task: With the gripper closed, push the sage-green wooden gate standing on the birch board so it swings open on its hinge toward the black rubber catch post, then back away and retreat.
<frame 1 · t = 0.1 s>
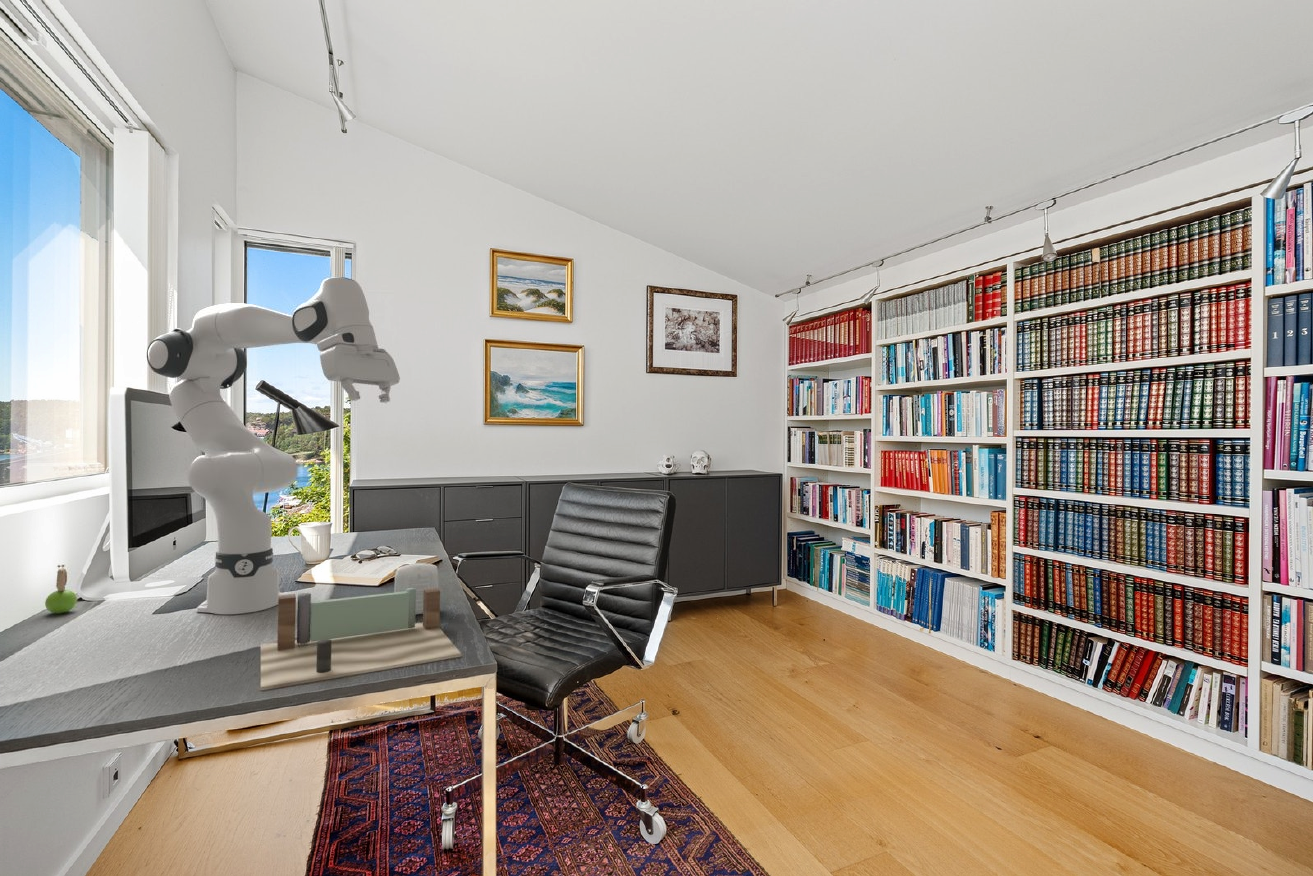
hand: (370, 401, 143), 52 cm above the table, tool tilted 20°, fingers open, 8 cm apart
gate: (359, 611, 135), point 6 cm above the table, hinge at 0.0°
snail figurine: (61, 614, 146), on the table
photo printer: (415, 614, 155), on the table
gate frame: (303, 647, 129), on the table
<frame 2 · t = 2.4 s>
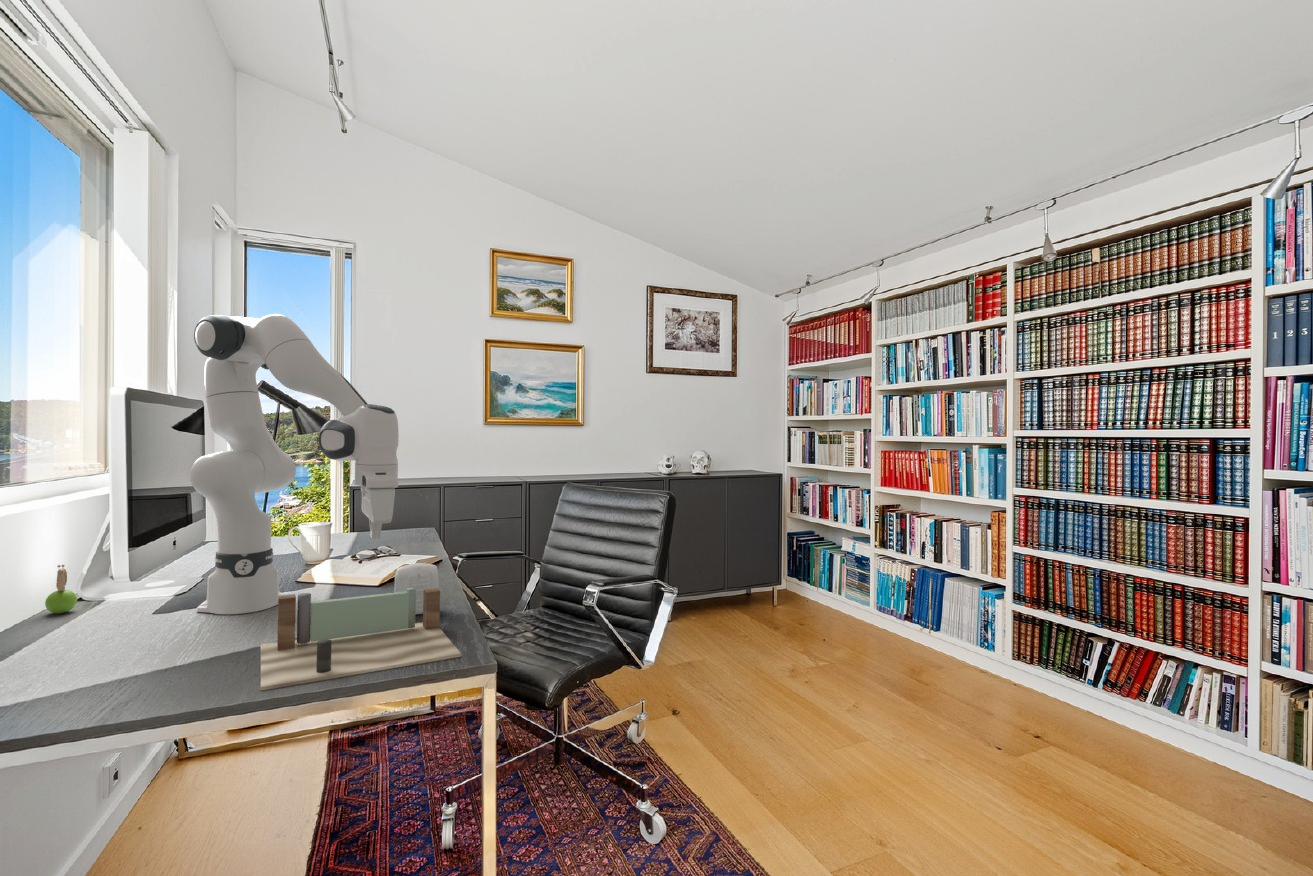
hand: (375, 538, 141), 21 cm above the table, tool pointing down, fingers closed
nothing on the table moved.
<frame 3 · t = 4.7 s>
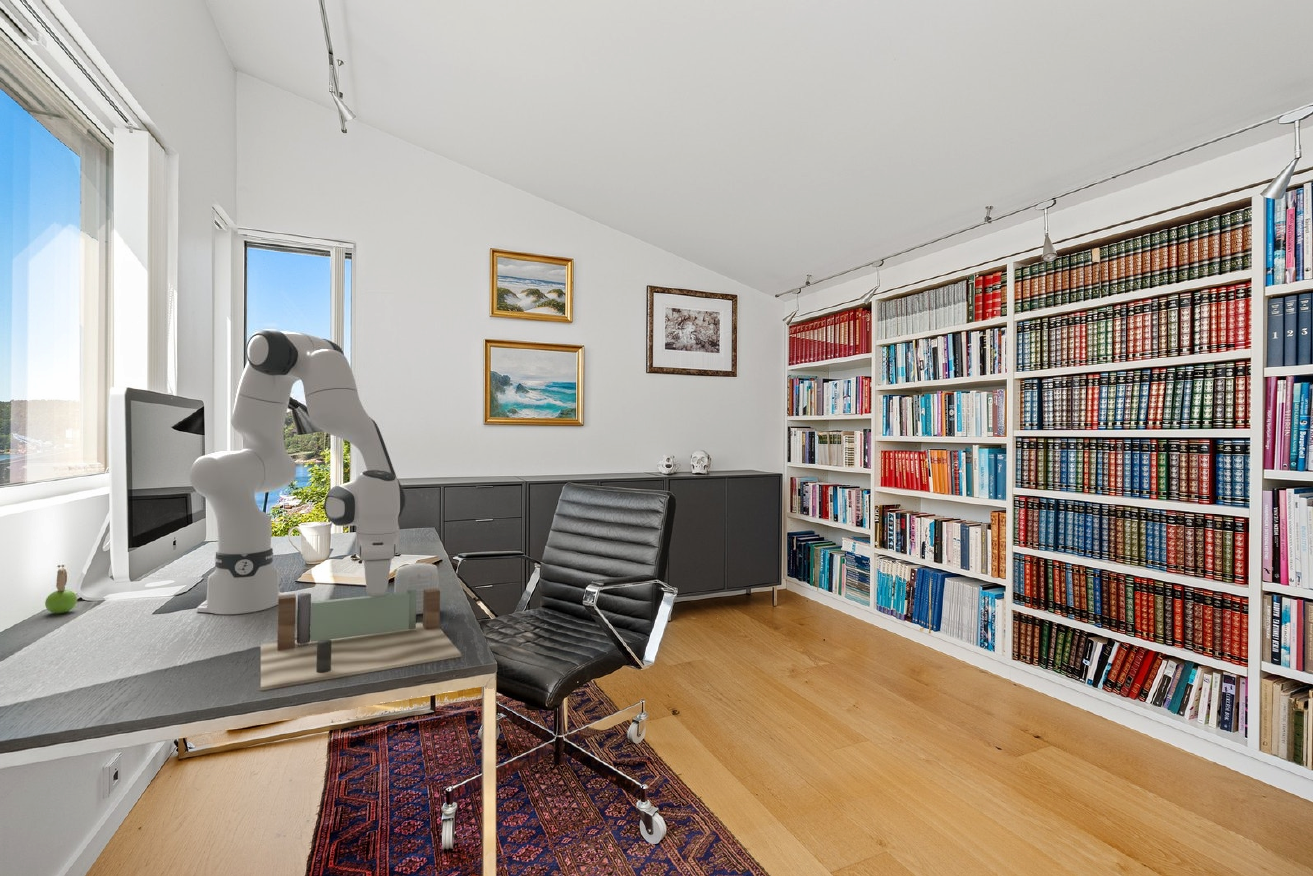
hand: (376, 606, 139), 6 cm above the table, tool pointing down, fingers closed
gate: (359, 612, 135), point 6 cm above the table, hinge at -2.3°, touching gripper
everything else where it was.
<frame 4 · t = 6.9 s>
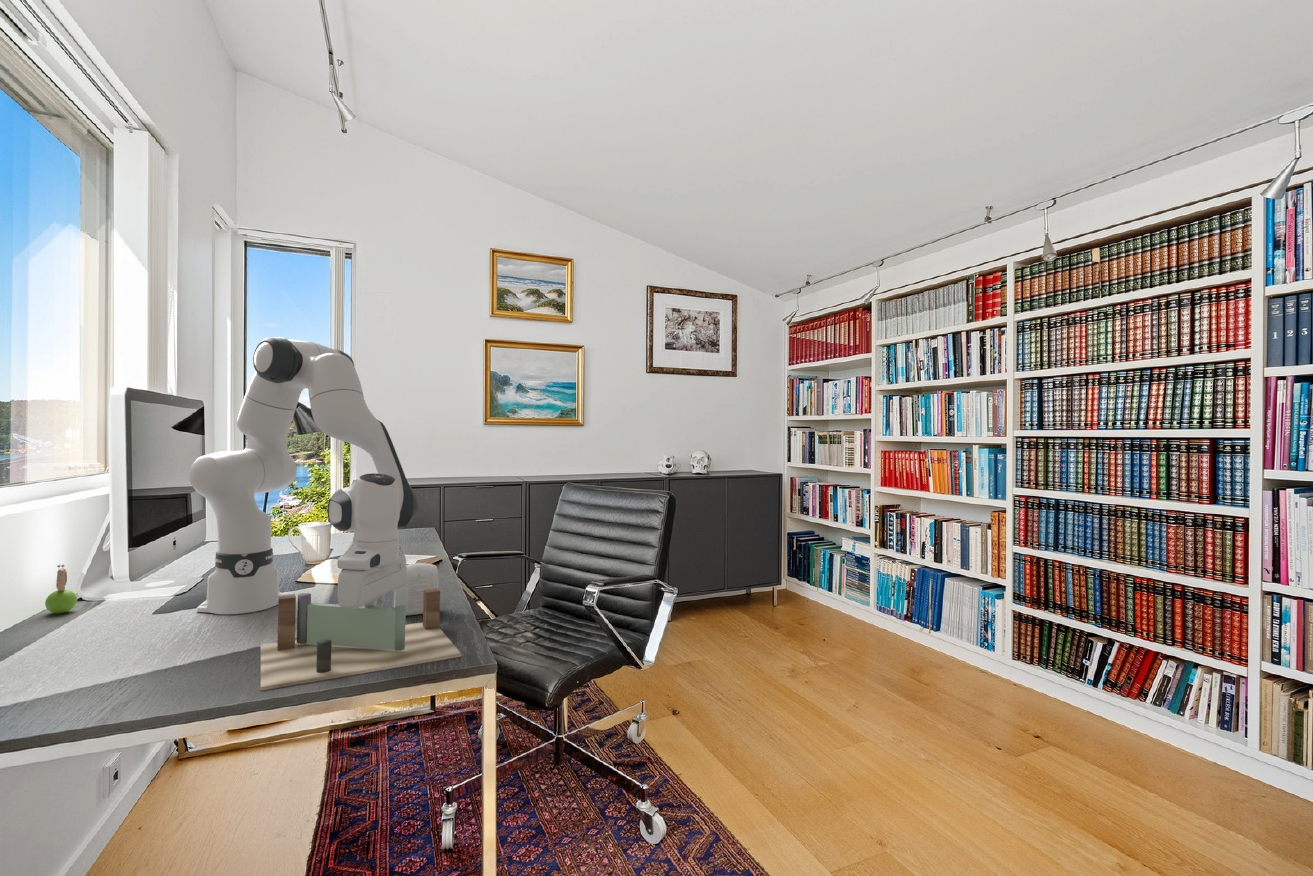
hand: (374, 618, 131), 6 cm above the table, tool pointing down, fingers closed
gate: (351, 621, 128), point 6 cm above the table, hinge at -38.8°, touching gripper
everything else where it was.
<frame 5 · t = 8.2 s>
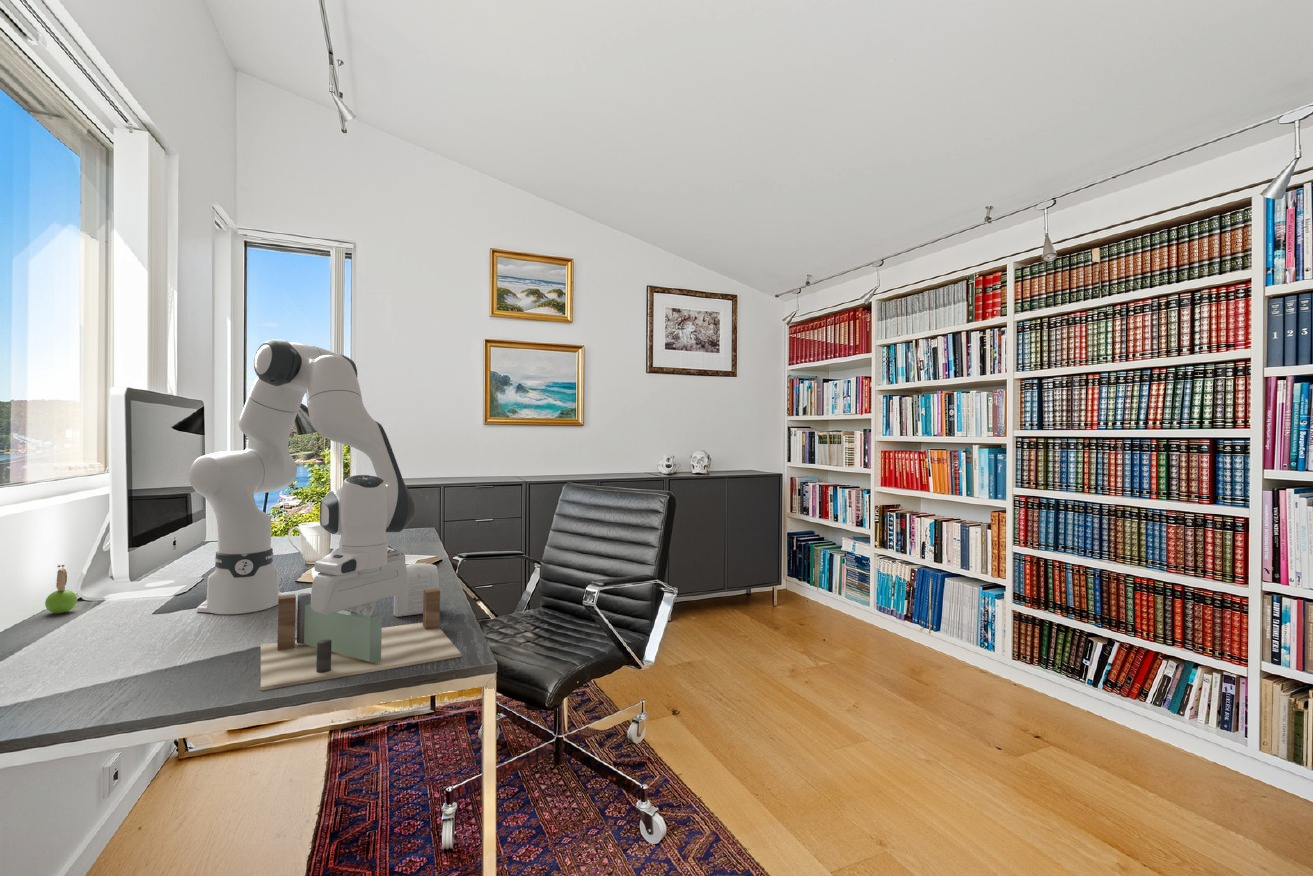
hand: (362, 625, 126), 6 cm above the table, tool pointing down, fingers closed
gate: (338, 626, 125), point 6 cm above the table, hinge at -57.9°, touching gripper
everything else where it was.
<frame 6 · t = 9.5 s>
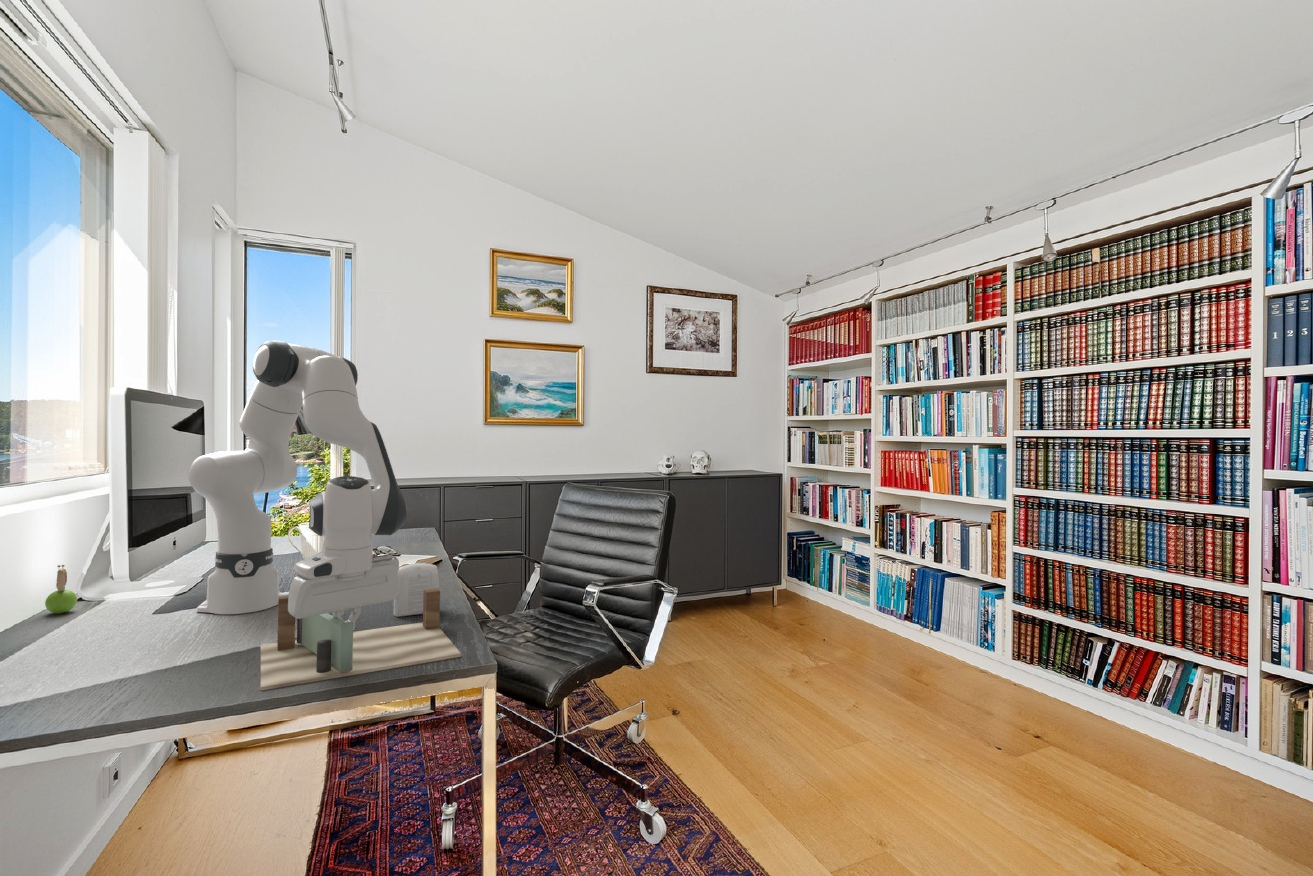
hand: (346, 630, 122), 6 cm above the table, tool pointing down, fingers closed
gate: (324, 630, 122), point 6 cm above the table, hinge at -73.7°, touching gripper
everything else where it was.
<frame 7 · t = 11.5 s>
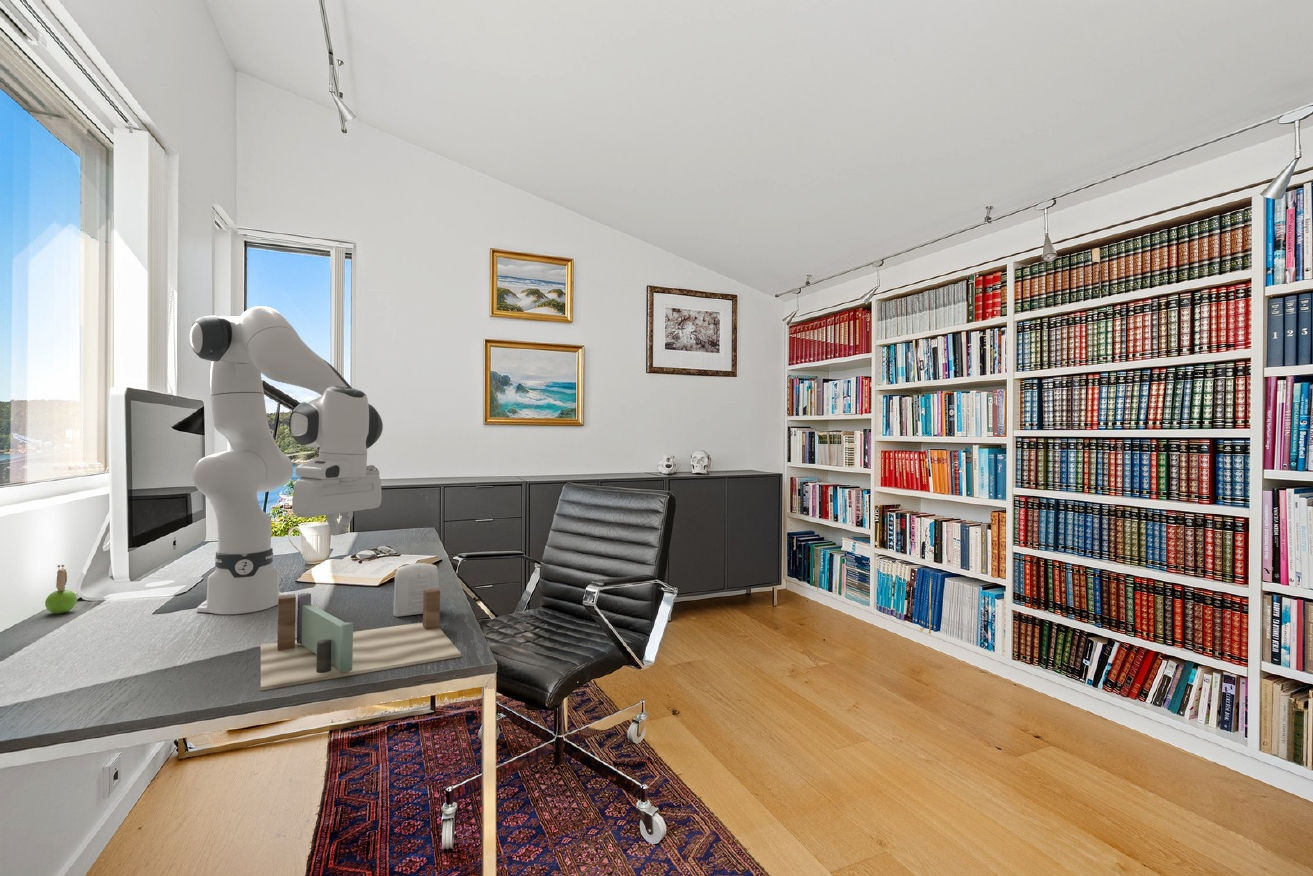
hand: (338, 534, 127), 24 cm above the table, tool pointing down, fingers closed
gate: (324, 630, 122), point 6 cm above the table, hinge at -73.7°
everything else where it was.
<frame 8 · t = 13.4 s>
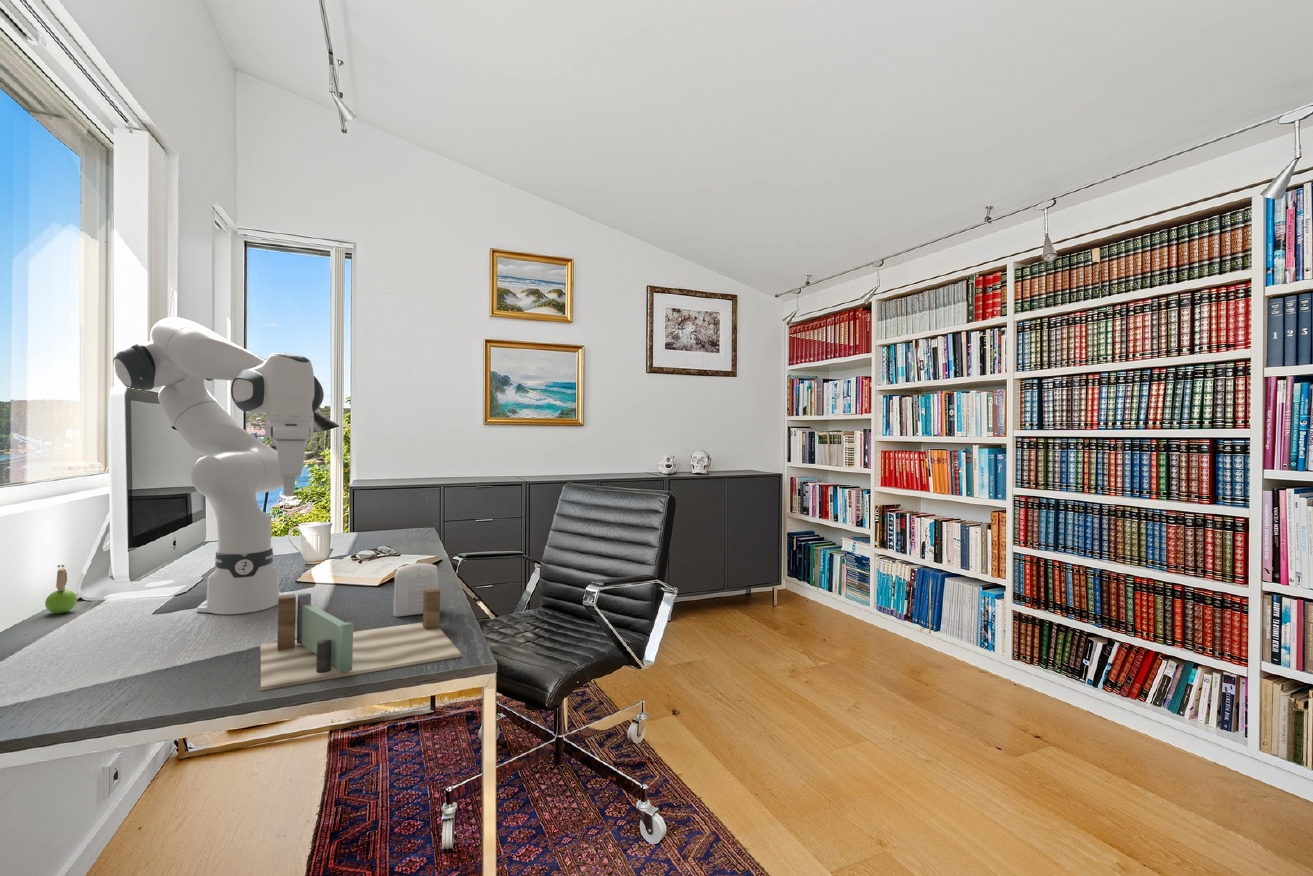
hand: (288, 495, 132), 31 cm above the table, tool pointing down, fingers closed
nothing on the table moved.
at the end: gate at -74° (first picture: +0°) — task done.
